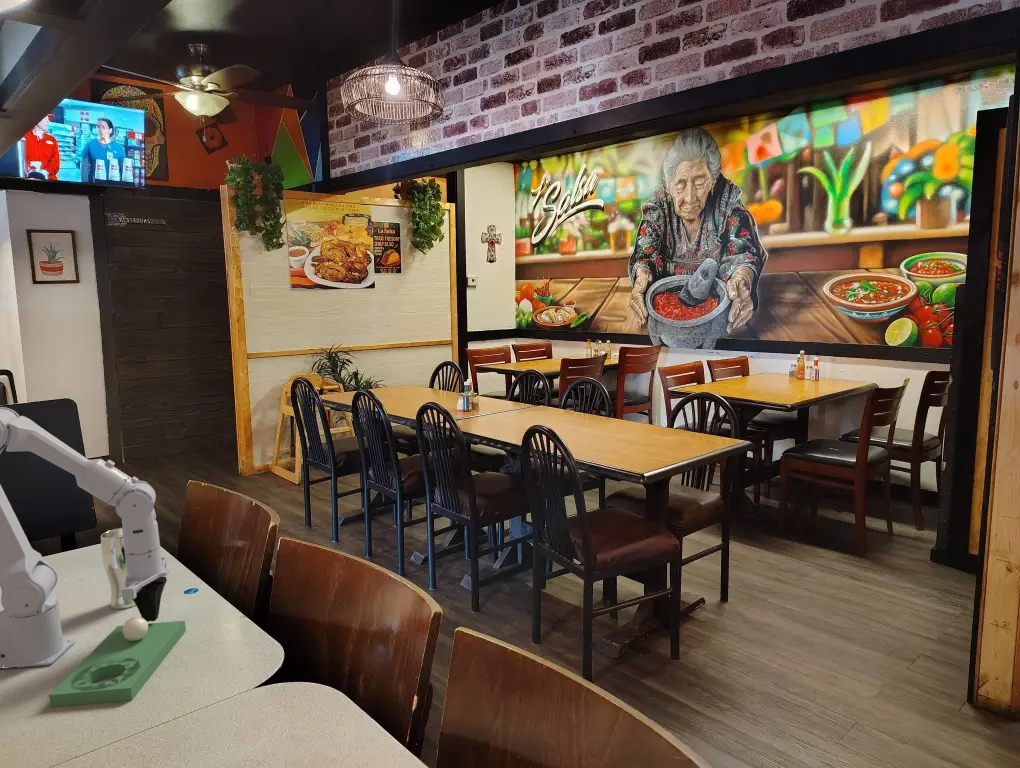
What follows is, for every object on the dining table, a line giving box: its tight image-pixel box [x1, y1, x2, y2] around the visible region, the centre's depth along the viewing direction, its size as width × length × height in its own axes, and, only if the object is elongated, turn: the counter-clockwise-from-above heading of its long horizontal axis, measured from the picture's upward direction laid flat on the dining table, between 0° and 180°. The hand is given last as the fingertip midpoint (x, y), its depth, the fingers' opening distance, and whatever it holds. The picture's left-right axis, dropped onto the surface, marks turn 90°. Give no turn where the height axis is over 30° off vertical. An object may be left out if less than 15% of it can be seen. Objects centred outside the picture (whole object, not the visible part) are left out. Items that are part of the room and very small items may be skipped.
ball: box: [122, 616, 149, 641], centre depth 121 cm, size 4×4×4 cm
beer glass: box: [100, 527, 137, 610], centre depth 140 cm, size 7×7×15 cm
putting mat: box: [48, 620, 187, 708], centre depth 116 cm, size 12×22×2 cm, turn 5°
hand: (150, 619), depth 127 cm, fingers closed
